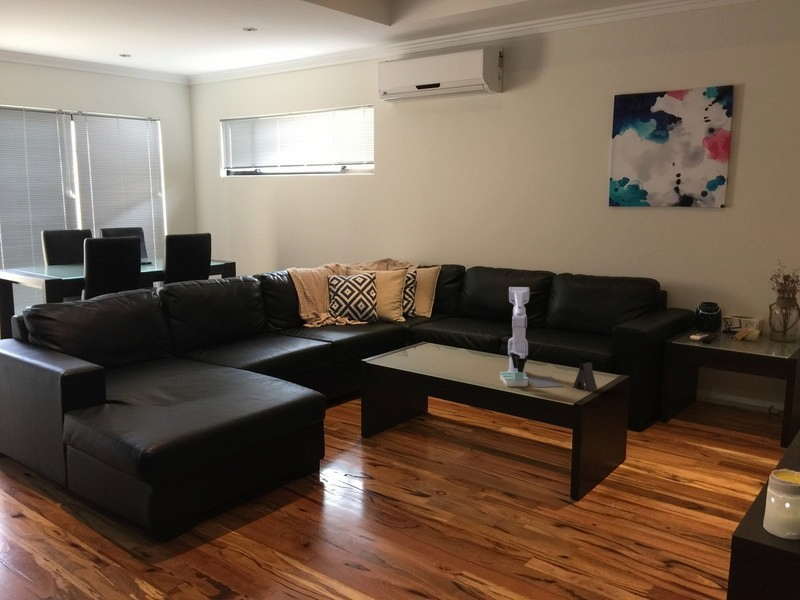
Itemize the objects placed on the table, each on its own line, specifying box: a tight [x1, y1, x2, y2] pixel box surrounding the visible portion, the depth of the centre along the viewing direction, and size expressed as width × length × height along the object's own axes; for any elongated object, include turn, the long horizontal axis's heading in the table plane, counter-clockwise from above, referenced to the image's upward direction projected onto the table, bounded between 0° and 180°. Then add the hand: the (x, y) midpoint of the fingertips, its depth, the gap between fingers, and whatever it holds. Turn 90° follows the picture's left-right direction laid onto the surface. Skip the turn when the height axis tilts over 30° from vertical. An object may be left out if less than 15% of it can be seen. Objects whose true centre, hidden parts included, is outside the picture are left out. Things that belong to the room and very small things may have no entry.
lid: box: [498, 371, 528, 382], centre depth 318 cm, size 17×11×4 cm, turn 4°
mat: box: [526, 375, 564, 389], centre depth 321 cm, size 18×13×1 cm
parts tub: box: [499, 373, 529, 387], centre depth 320 cm, size 13×10×3 cm
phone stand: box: [572, 361, 598, 393], centre depth 309 cm, size 9×6×12 cm, turn 40°
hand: (518, 370), depth 311 cm, fingers open, 7 cm apart
